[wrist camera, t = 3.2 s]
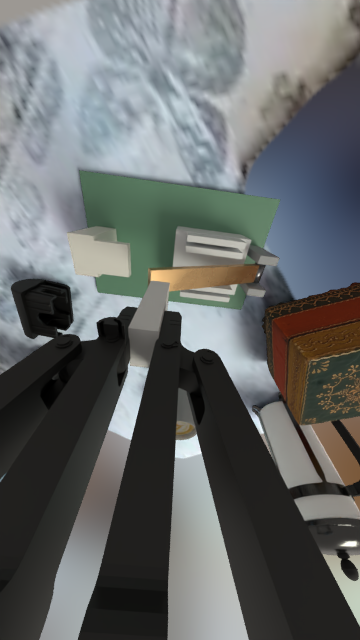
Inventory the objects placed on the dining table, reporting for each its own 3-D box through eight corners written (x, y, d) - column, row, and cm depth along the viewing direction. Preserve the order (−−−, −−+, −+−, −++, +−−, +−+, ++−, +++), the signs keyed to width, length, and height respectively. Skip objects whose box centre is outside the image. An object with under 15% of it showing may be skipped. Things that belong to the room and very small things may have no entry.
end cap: (31, 274, 33) (-1, 288, 28) (70, 283, 34) (46, 298, 28) (41, 317, 39) (16, 336, 33) (74, 324, 39) (55, 344, 34)
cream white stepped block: (100, 259, 30) (75, 274, 23) (96, 226, 27) (66, 232, 20) (141, 264, 30) (128, 280, 23) (141, 232, 27) (127, 240, 21)
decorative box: (258, 289, 34) (291, 352, 21) (397, 270, 30) (551, 336, 16) (255, 358, 46) (275, 427, 33) (354, 353, 41) (424, 430, 28)
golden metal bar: (146, 290, 19) (151, 295, 18) (147, 265, 17) (152, 270, 16) (253, 279, 26) (260, 283, 25) (259, 262, 25) (267, 265, 24)
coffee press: (295, 419, 58) (380, 584, 33) (247, 418, 58) (292, 579, 33) (318, 386, 48) (461, 583, 23) (259, 385, 49) (337, 576, 24)
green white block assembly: (100, 289, 34) (75, 313, 27) (83, 171, 25) (36, 156, 17) (239, 306, 35) (254, 334, 28) (276, 199, 26) (315, 197, 18)
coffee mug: (159, 401, 55) (154, 436, 46) (166, 381, 49) (162, 417, 41) (200, 409, 56) (202, 444, 48) (211, 390, 51) (216, 427, 42)
